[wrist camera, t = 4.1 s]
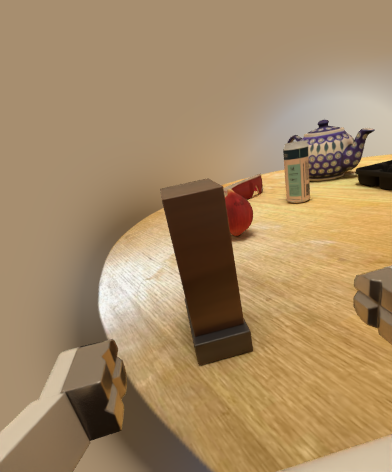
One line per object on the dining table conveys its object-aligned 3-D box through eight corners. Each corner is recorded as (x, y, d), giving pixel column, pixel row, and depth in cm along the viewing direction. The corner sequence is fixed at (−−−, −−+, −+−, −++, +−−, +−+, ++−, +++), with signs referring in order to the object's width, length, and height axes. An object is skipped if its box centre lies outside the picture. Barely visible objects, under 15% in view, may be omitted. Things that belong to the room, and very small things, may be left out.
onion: (255, 228, 45) (250, 182, 42) (254, 241, 39) (248, 190, 37) (223, 231, 46) (216, 187, 43) (218, 244, 41) (209, 195, 38)
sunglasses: (238, 205, 59) (232, 184, 58) (193, 212, 73) (187, 195, 71) (277, 186, 70) (272, 168, 69) (231, 196, 83) (227, 181, 82)
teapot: (272, 181, 79) (267, 130, 74) (306, 170, 85) (304, 122, 80) (349, 186, 58) (351, 115, 53) (389, 171, 63) (393, 106, 58)
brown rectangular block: (253, 351, 20) (230, 187, 15) (199, 366, 20) (158, 203, 15) (230, 303, 26) (208, 176, 22) (188, 314, 26) (157, 187, 21)
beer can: (306, 196, 57) (303, 139, 52) (313, 201, 52) (312, 140, 48) (284, 200, 57) (280, 144, 53) (289, 205, 53) (286, 145, 49)
